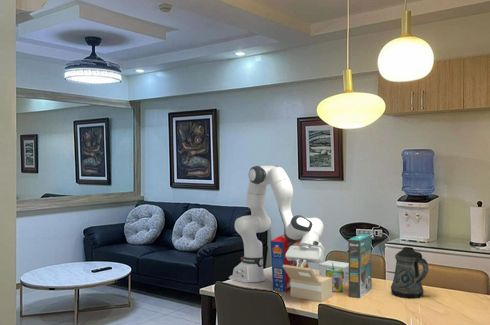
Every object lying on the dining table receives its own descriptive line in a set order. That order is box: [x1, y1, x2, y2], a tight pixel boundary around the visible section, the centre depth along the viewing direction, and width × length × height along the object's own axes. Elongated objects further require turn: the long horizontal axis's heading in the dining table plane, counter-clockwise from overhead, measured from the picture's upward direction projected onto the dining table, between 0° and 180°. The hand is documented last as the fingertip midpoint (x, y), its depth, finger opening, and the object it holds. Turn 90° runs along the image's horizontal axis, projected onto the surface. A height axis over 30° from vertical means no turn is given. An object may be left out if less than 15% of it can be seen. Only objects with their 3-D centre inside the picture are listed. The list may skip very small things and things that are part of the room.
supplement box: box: [318, 260, 349, 283], centre depth 291 cm, size 17×13×9 cm
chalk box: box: [326, 263, 344, 293], centre depth 265 cm, size 9×9×15 cm
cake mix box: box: [347, 233, 373, 299], centre depth 259 cm, size 22×6×30 cm, turn 150°
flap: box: [283, 265, 319, 283], centre depth 243 cm, size 16×1×11 cm
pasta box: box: [270, 234, 309, 293], centre depth 273 cm, size 28×8×28 cm, turn 146°
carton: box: [290, 274, 333, 303], centre depth 252 cm, size 18×12×10 cm
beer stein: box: [390, 246, 429, 300], centre depth 254 cm, size 16×19×25 cm
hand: (299, 267), depth 240 cm, fingers closed
